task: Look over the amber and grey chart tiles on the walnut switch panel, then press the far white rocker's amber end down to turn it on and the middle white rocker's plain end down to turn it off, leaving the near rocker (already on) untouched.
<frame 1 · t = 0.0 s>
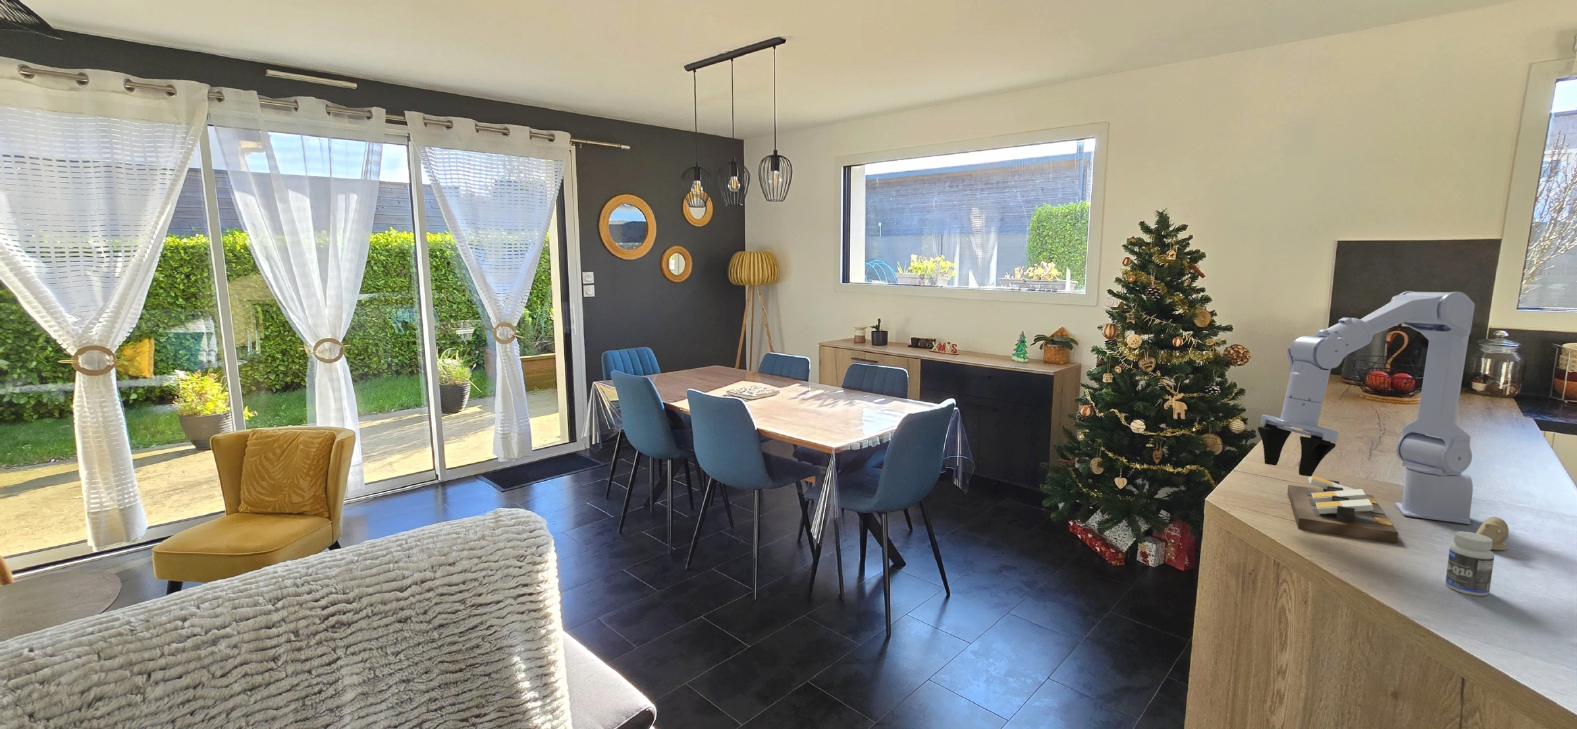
hand: (1287, 469, 128), 11 cm above the table, tool pointing down, fingers open, 7 cm apart
decorative ornament: (1487, 547, 117), on the table
rocker middle: (1338, 495, 132), point 4 cm above the table, hinge at 15.0°
rocker near: (1343, 506, 127), point 4 cm above the table, hinge at 15.0°
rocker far: (1333, 486, 138), point 4 cm above the table, hinge at -15.0°
switch panel: (1336, 515, 133), on the table
pill bottle: (1466, 590, 101), on the table
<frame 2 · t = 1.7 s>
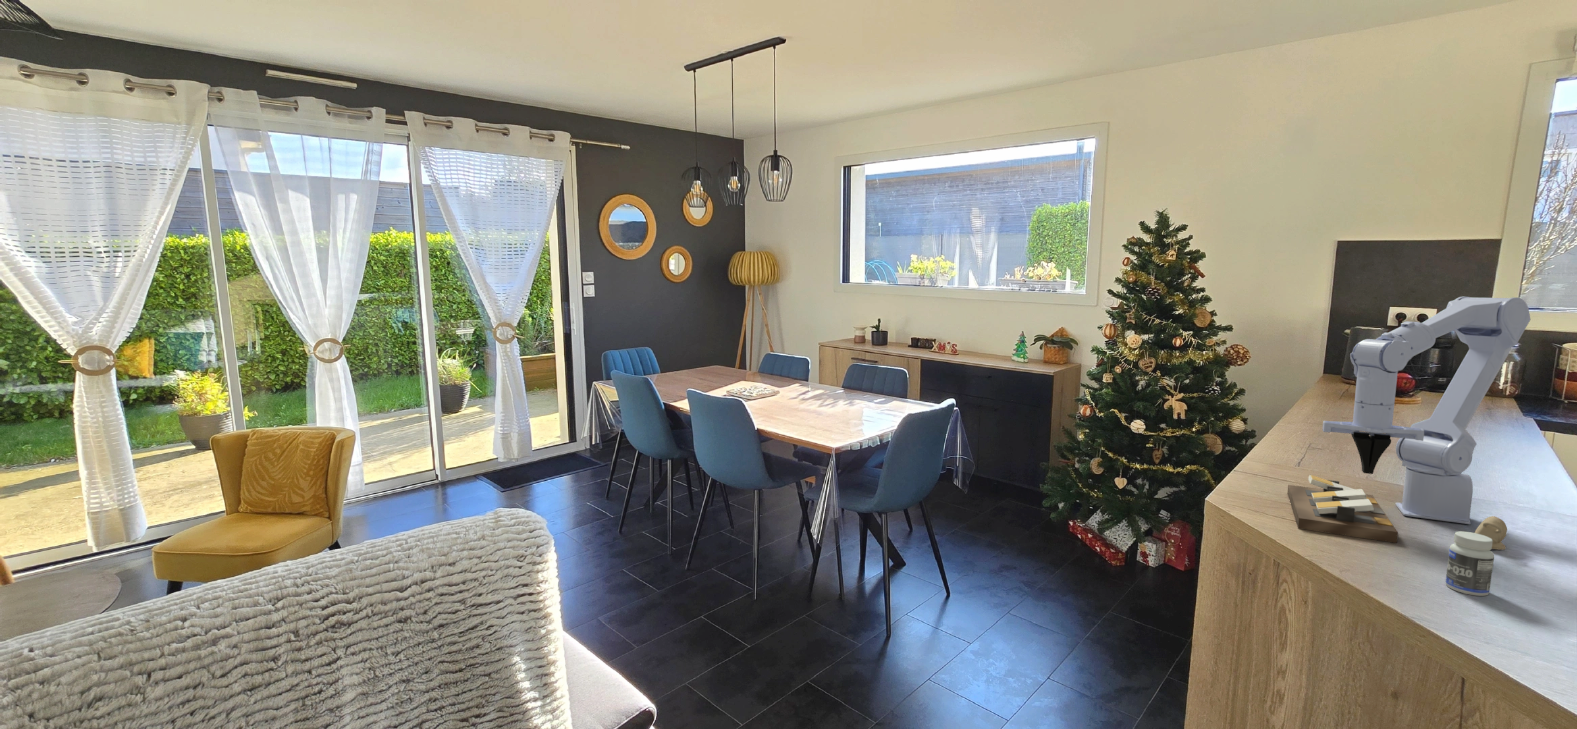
hand: (1367, 472, 130), 9 cm above the table, tool pointing down, fingers closed
nothing on the table moved.
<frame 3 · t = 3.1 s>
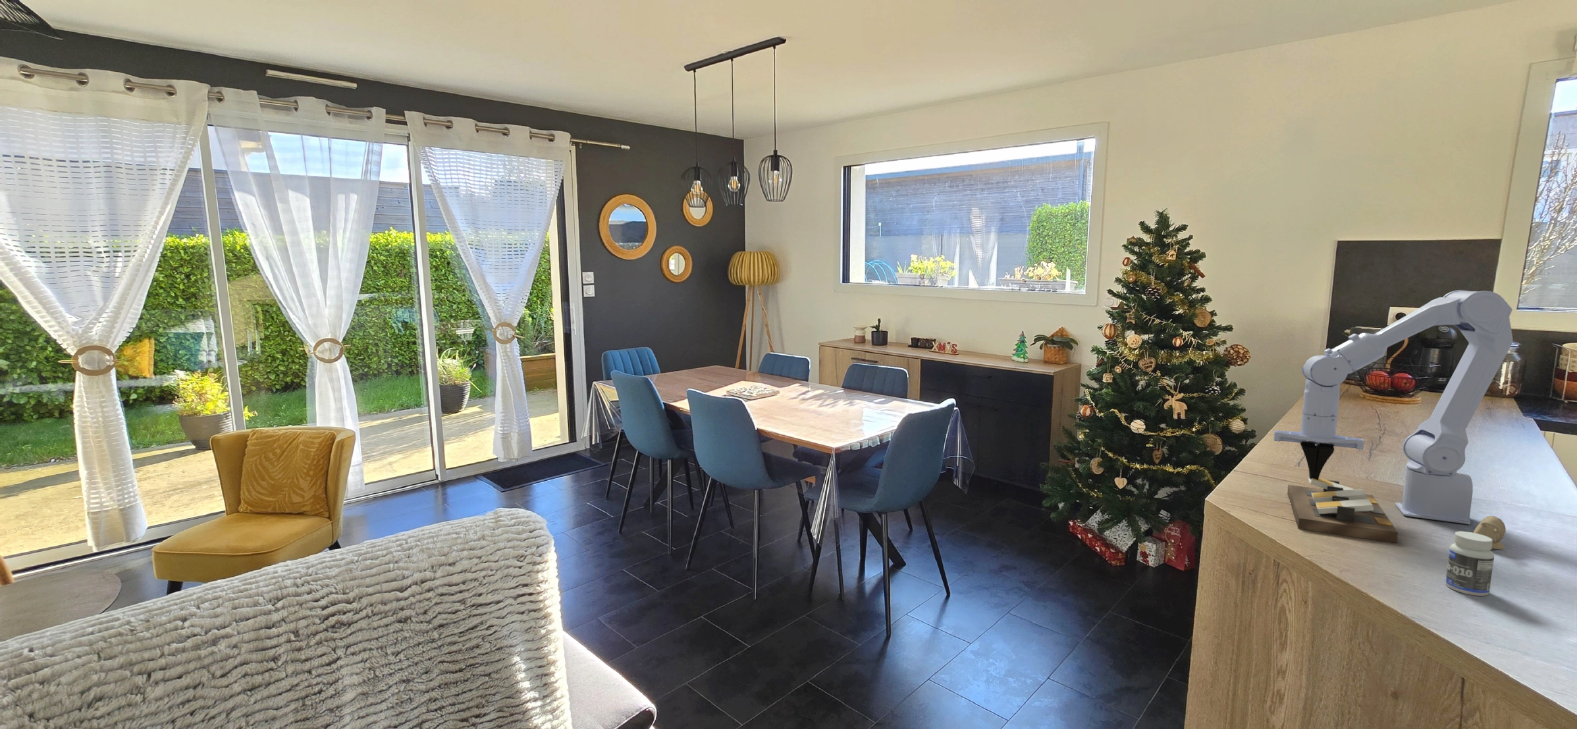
hand: (1313, 478, 140), 5 cm above the table, tool pointing down, fingers closed, pressing on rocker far
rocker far: (1333, 486, 138), point 4 cm above the table, hinge at -15.0°, touching gripper
everything else where it was.
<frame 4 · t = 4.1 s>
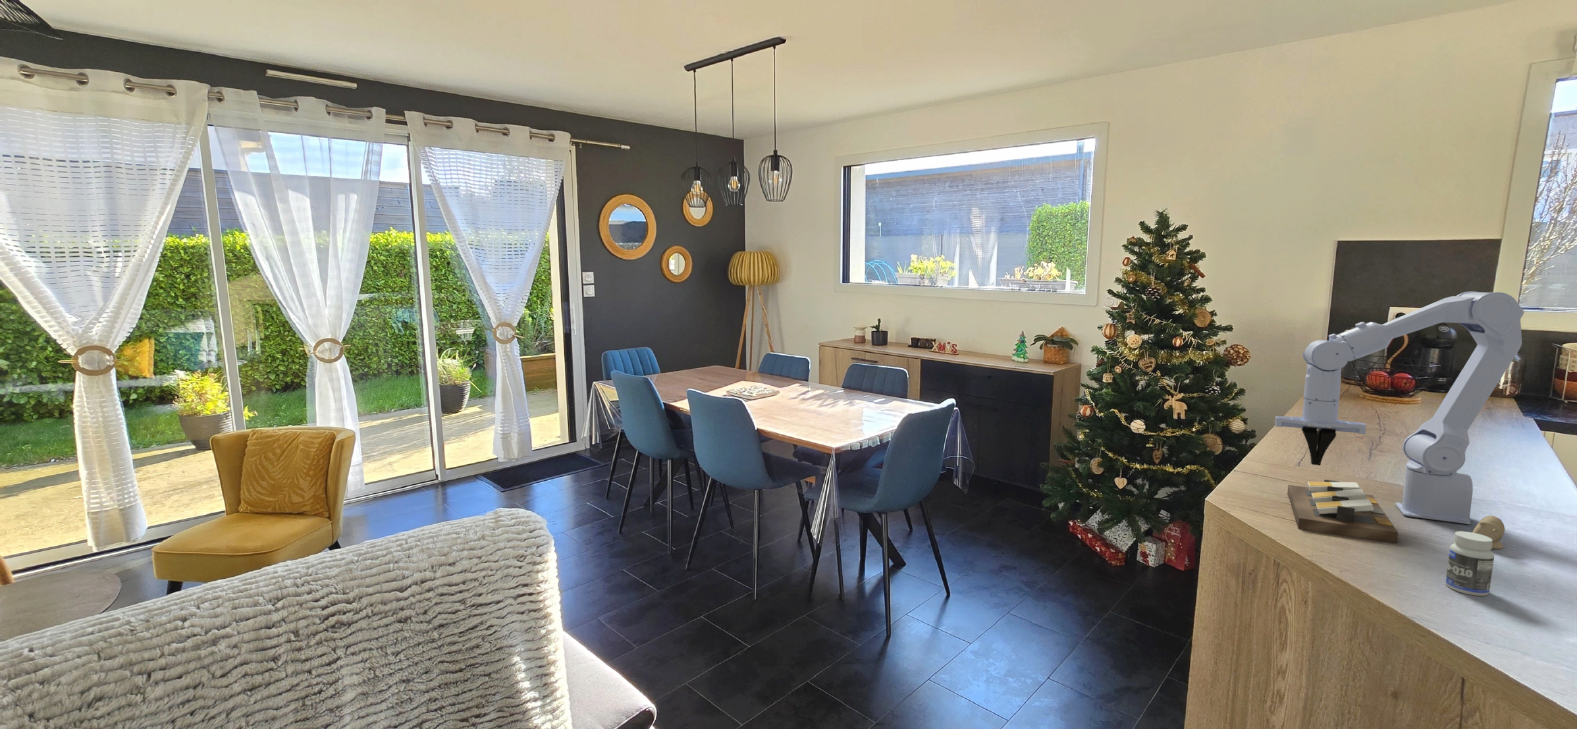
hand: (1315, 463, 139), 8 cm above the table, tool pointing down, fingers closed
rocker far: (1333, 486, 138), point 4 cm above the table, hinge at 7.7°
everything else where it was.
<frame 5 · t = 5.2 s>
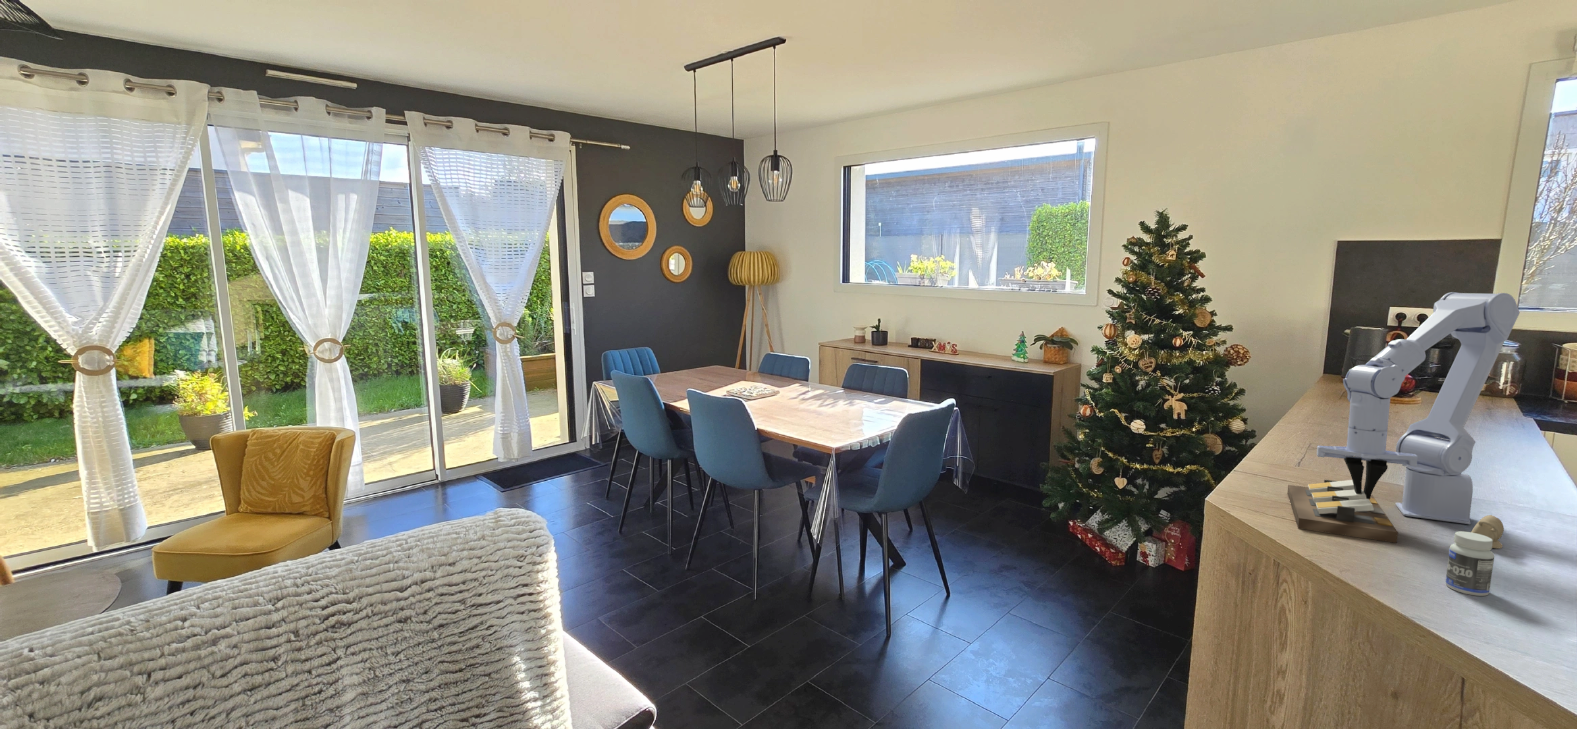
hand: (1361, 497, 131), 4 cm above the table, tool pointing down, fingers closed, pressing on rocker middle
rocker middle: (1338, 495, 132), point 4 cm above the table, hinge at 14.7°, touching gripper
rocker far: (1333, 486, 138), point 4 cm above the table, hinge at 16.3°
everything else where it was.
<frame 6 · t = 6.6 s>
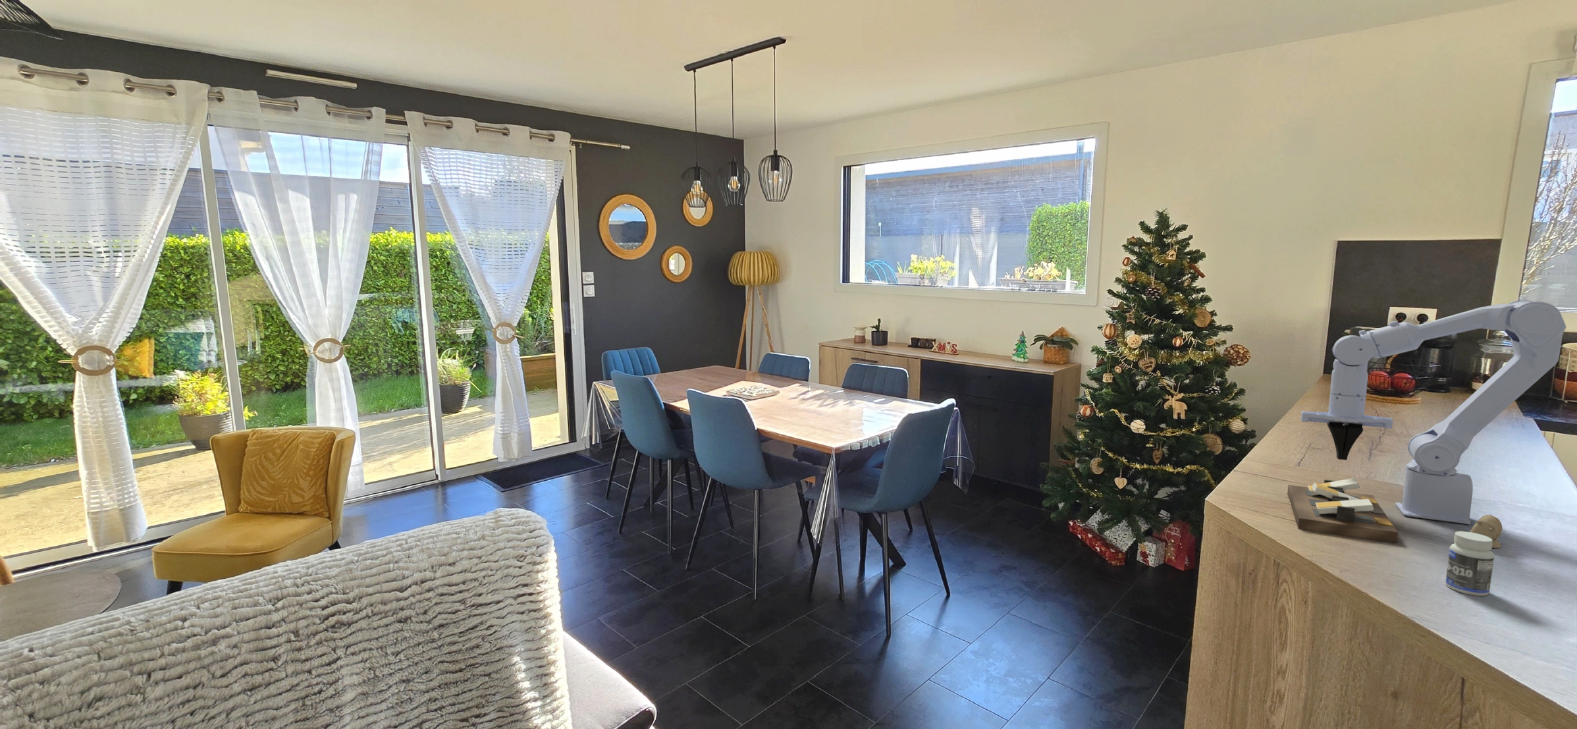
hand: (1341, 458, 140), 9 cm above the table, tool pointing down, fingers closed
rocker middle: (1338, 495, 132), point 4 cm above the table, hinge at -18.1°
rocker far: (1333, 486, 138), point 4 cm above the table, hinge at 20.8°
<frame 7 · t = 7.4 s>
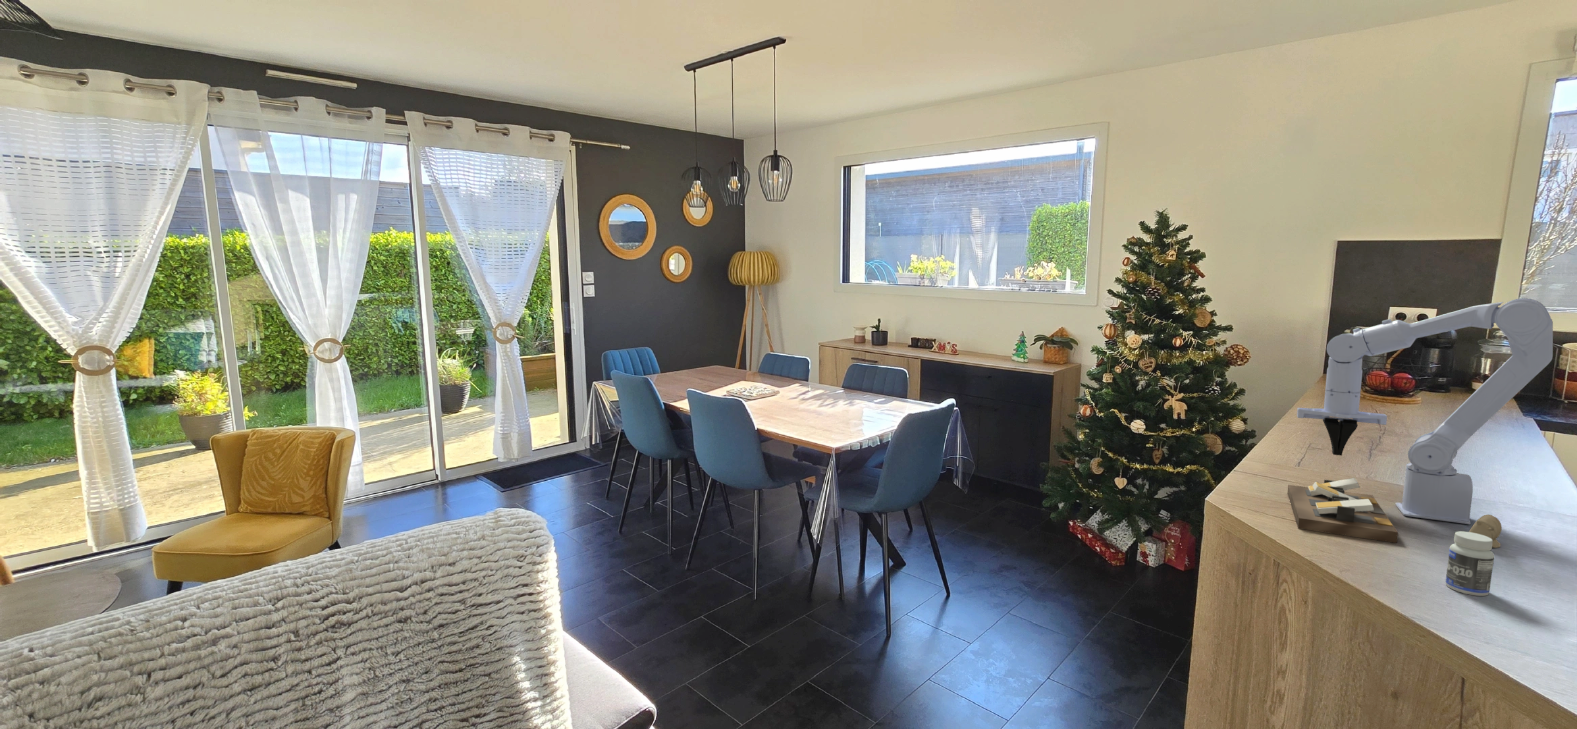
hand: (1336, 454, 143), 9 cm above the table, tool pointing down, fingers closed
rocker middle: (1338, 495, 132), point 4 cm above the table, hinge at -21.3°, touching switch panel
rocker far: (1333, 486, 138), point 4 cm above the table, hinge at 21.8°, touching switch panel
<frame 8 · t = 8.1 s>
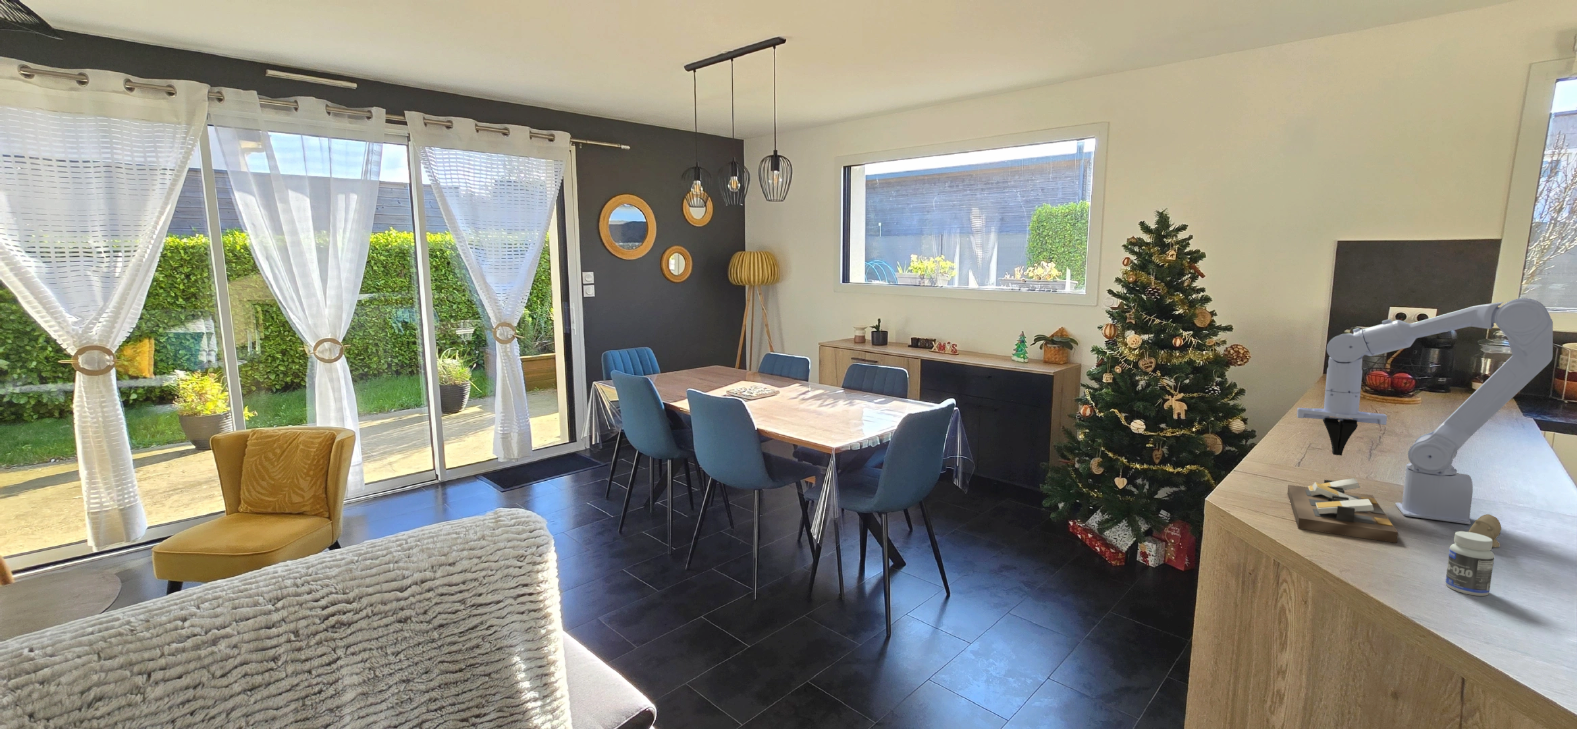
hand: (1336, 454, 143), 9 cm above the table, tool pointing down, fingers closed
rocker middle: (1338, 495, 132), point 4 cm above the table, hinge at -19.7°
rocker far: (1333, 486, 138), point 4 cm above the table, hinge at 21.4°, touching switch panel
at the end: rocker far at +21° (first picture: -15°); rocker middle at -19° (first picture: +15°); rocker near at +15° (first picture: +15°) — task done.
